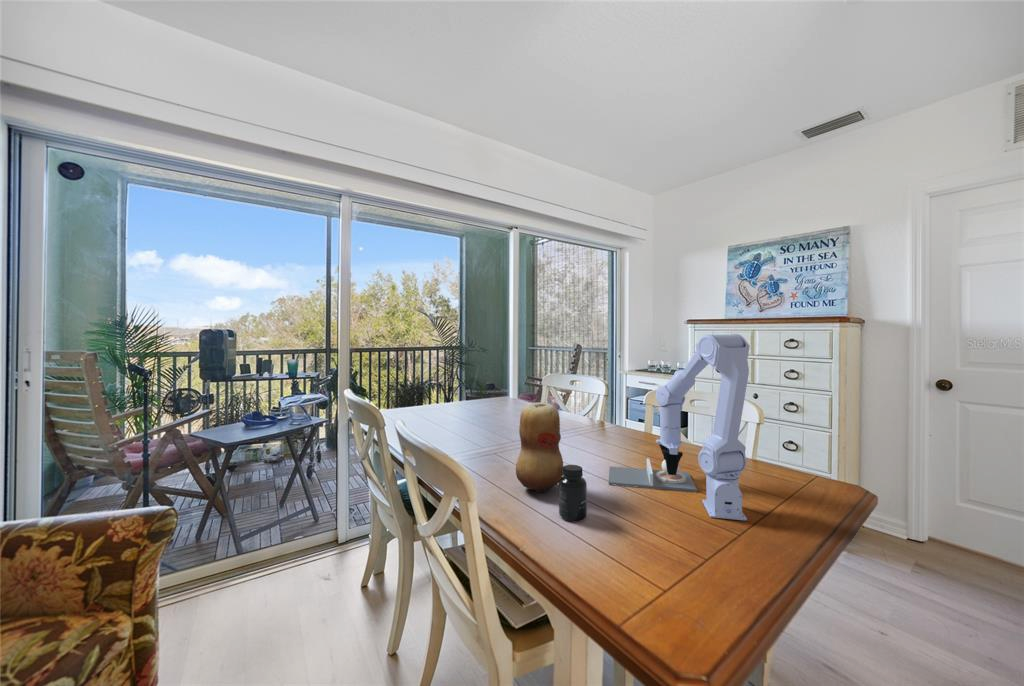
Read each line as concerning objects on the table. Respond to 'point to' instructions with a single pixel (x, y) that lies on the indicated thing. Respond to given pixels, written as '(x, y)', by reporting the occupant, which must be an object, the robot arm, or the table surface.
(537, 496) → the table surface
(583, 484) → the supplement bottle
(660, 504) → the table surface
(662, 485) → the board
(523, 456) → the butternut squash
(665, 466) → the ball
